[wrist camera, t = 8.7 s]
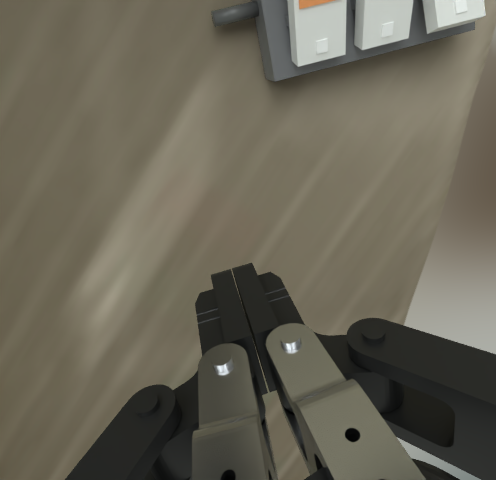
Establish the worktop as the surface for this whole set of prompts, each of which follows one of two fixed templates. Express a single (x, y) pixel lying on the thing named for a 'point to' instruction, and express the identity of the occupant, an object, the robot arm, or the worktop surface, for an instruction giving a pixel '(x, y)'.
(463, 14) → the block
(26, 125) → the worktop surface
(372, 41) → the block
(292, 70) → the rocker switch panel
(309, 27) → the rocker
